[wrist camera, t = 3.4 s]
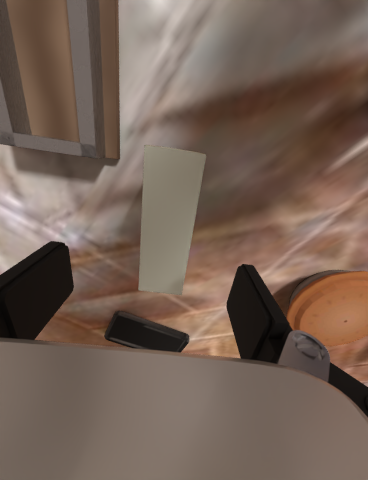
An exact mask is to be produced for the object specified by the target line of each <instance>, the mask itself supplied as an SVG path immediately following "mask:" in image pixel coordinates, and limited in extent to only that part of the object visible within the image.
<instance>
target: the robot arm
mask: <svg viewBox="0 0 368 480" xmlns="http://www.w3.org/2000/svg"><path fill="white" fill-rule="evenodd" d="M73 288H74V285H73V277H72V270H71V263H70V256H69V249H68V246H65V244H64V243H62V242H54V241H51V242H49V243H47V244H46V245H44V246H43V247H41V248H40V249H38V250H37V251H35V252H34V253H32V254H31V255H29V256H28V257H26V258H25V259H23V260H22V261H20V262H19V263H18V264H16V265H15V266H13V267H12V268H10V269H9V270H7V271H6V272H4V273H3V274H1V275H0V480H368V387H367V386H365V385H364V384H362V383H361V382H359V381H358V380H356V379H355V378H353V377H352V376H350V375H349V374H347V373H346V372H344V371H343V370H341V369H340V368H338V367H337V366H335V365H334V364H332V363H331V362H330V355H329V353H328V351H327V349H326V348H325V346H324V345H323V344H322V343H321V342H320V341H319V340H318V339H317V338H315V337H314V336H312V335H311V334H308V333H306V332H304V331H300V330H293V329H292V328H291V326H290V323H289V322H288V320H287V319H286V317H285V315H284V314H283V312H282V311H281V309H280V307H279V306H278V304H277V303H276V301H275V299H274V298H273V296H272V295H271V293H270V291H269V290H268V288H267V286H266V285H265V283H264V282H263V280H262V278H261V277H260V275H259V274H258V272H257V270H256V269H255V267H254V266H253V265H246V264H242V265H241V266H239V267H238V269H237V272H236V275H235V278H234V281H233V284H232V288H231V291H230V294H229V297H228V300H227V311H228V314H229V318H230V321H231V325H232V328H233V332H234V336H235V339H236V343H237V346H238V350H239V353H240V357H241V359H240V358H231V357H222V356H212V355H201V354H191V353H180V352H169V351H158V350H147V349H135V348H124V347H112V346H101V345H89V344H77V343H65V342H52V341H40V340H34V339H35V338H36V337H37V336H38V334H39V333H40V332H41V331H42V329H43V328H44V327H45V325H46V324H47V323H48V322H49V320H50V319H51V318H52V317H53V315H54V314H55V313H56V312H57V310H58V309H59V308H60V307H61V305H62V304H63V303H64V302H65V300H66V299H67V298H68V297H69V295H70V294H71V293H72V291H73Z"/></svg>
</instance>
